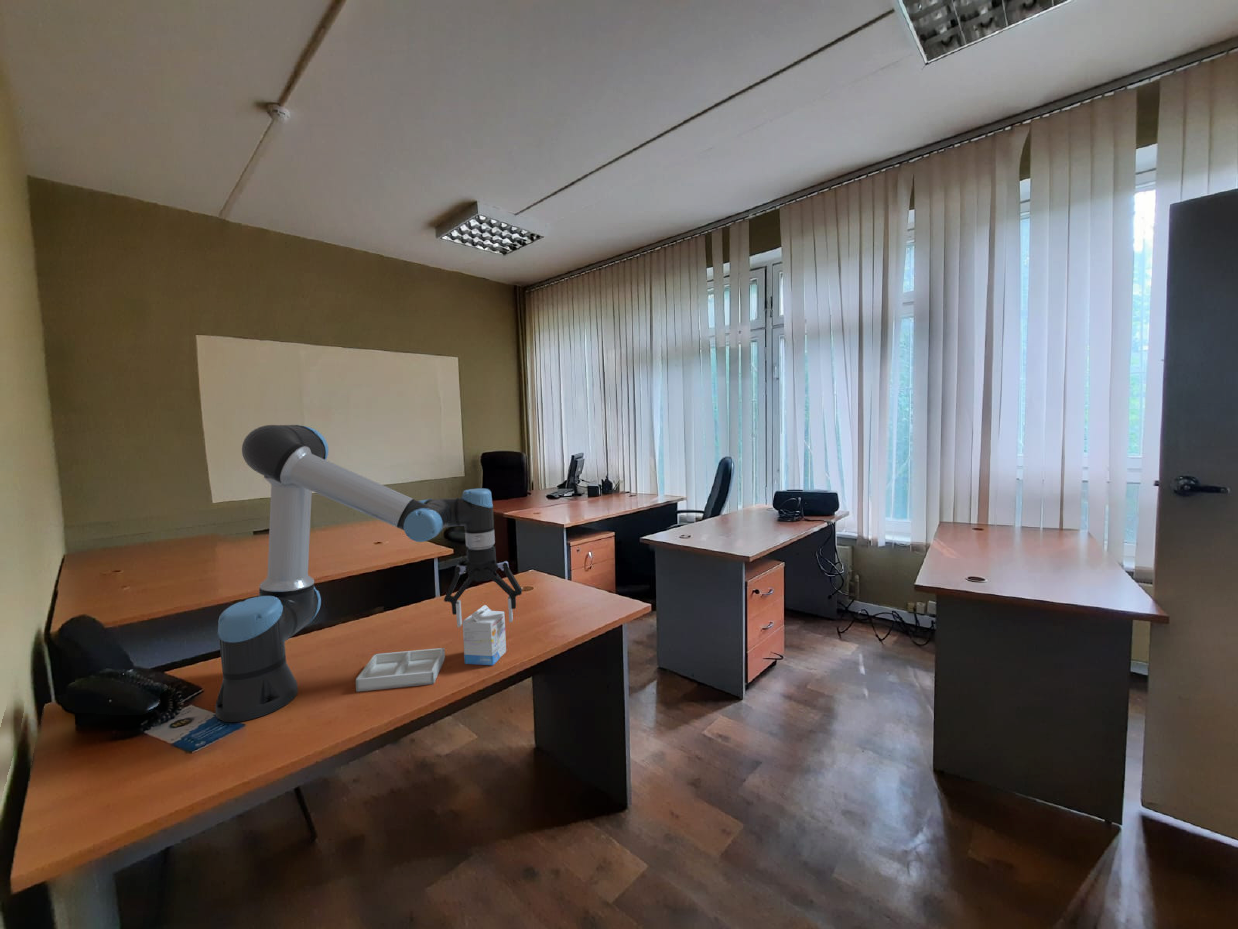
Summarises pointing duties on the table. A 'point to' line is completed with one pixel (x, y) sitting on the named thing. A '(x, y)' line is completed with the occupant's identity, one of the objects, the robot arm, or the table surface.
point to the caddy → (401, 669)
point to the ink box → (484, 637)
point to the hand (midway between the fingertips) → (485, 623)
